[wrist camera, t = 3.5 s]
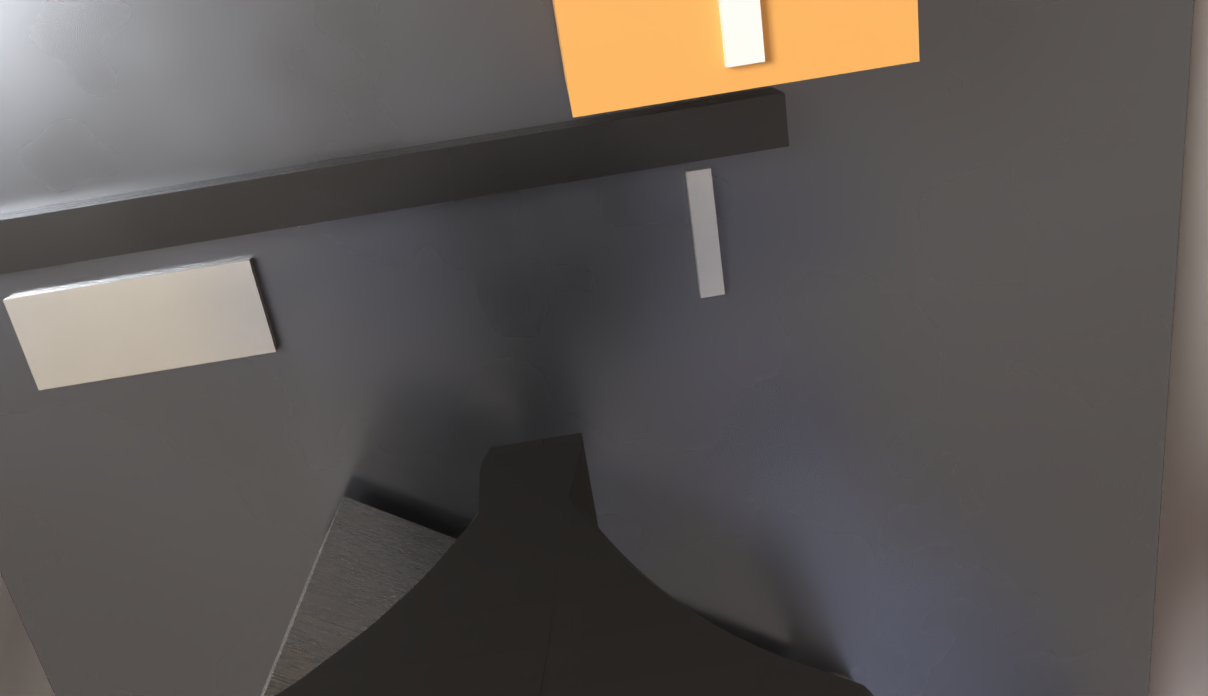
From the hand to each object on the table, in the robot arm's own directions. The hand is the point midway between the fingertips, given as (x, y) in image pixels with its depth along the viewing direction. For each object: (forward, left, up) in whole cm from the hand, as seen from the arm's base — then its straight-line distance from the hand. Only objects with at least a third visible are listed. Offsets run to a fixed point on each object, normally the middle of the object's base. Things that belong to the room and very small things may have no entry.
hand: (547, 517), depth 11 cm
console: (+1, 0, -3) cm, 3 cm away
